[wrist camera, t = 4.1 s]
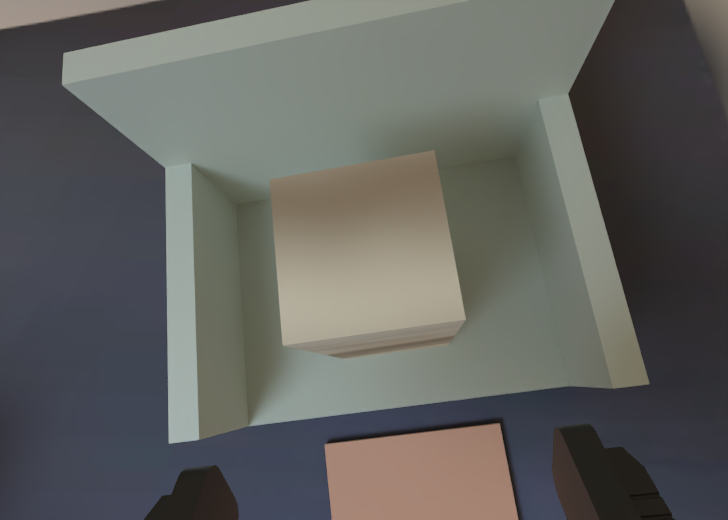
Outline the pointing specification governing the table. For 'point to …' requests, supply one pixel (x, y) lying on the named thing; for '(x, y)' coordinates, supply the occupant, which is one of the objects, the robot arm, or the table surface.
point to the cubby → (359, 145)
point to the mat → (422, 476)
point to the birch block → (365, 259)
